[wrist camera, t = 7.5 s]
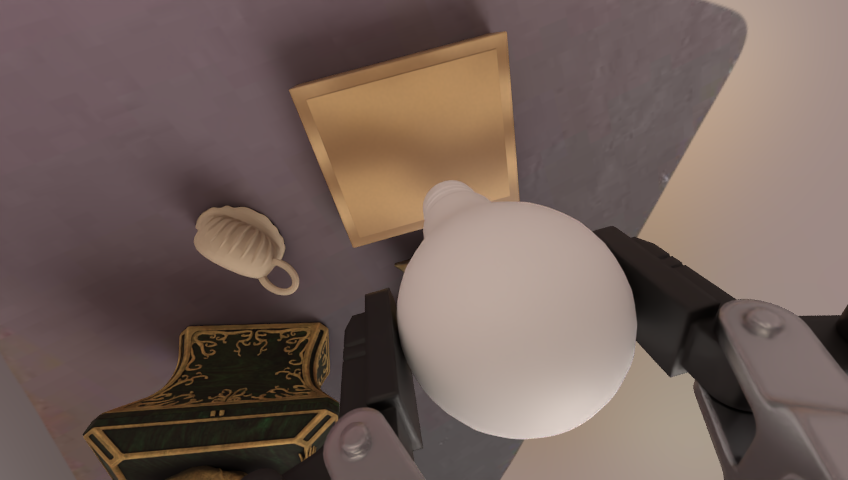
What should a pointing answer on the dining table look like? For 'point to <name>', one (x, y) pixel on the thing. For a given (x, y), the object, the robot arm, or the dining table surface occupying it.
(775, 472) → the robot arm
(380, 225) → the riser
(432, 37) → the dining table surface
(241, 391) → the decorative box
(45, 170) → the dining table surface
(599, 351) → the lightbulb
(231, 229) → the decorative ornament
